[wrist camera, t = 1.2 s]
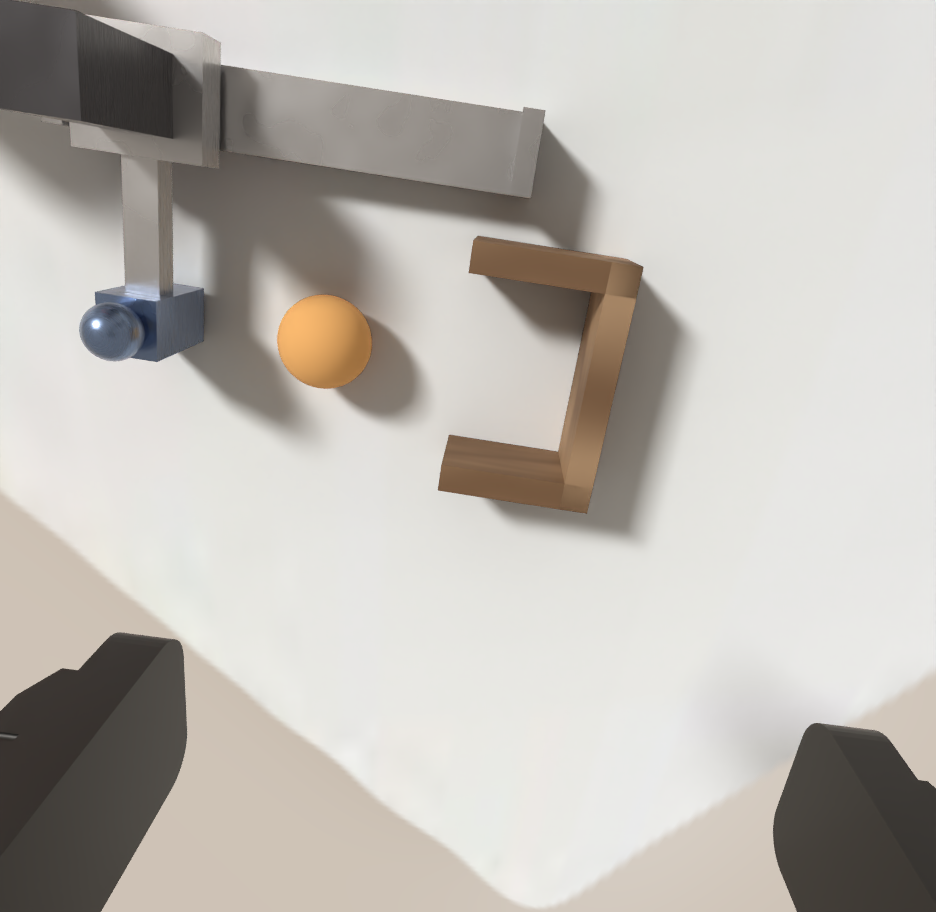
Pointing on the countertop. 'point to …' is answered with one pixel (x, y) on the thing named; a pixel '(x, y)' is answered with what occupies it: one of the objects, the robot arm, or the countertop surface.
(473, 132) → the rail
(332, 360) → the ball
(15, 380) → the countertop surface
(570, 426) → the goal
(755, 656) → the countertop surface
